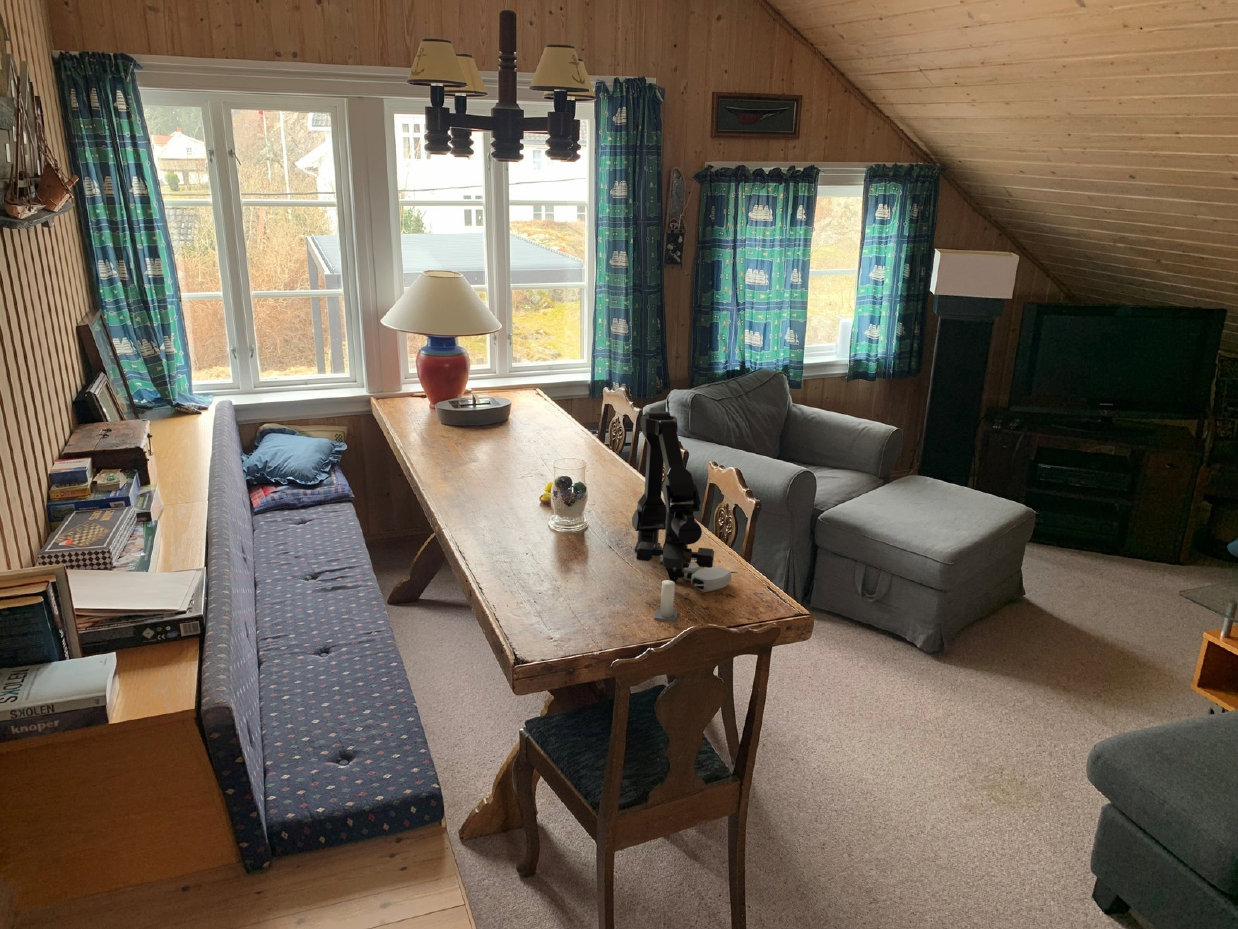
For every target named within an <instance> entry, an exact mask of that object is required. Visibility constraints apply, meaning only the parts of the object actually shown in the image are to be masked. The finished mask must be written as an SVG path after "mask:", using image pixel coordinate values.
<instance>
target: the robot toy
mask: <svg viewBox="0 0 1238 929" xmlns="http://www.w3.org/2000/svg"><path fill="white" fill-rule="evenodd" d="M675 572H676V570H674V577H675ZM738 573H739V571H731V570H729V569H727V568H725V567H721V566H716V565H715V566H712V567H711V568H707V567H699V566H698V565H697V560H694V561H691V563H690V564H689V567H688V568H684V569H683V570H682V572H681V573H680V575H679V578H678V579H681V578H682V579H683V580H685V581H691V585H692V587H693V588H695V589H698V590H700V591H702V592H703V593H708V592H713V591H717V590H720V589H723V588H725V587H727V586H728V585H729V584H731V582H732V574H738ZM666 575H667V576H668V573H667V572H666Z"/></svg>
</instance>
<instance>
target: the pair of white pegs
mask: <svg viewBox="0 0 1238 929" xmlns="http://www.w3.org/2000/svg"><path fill="white" fill-rule="evenodd" d="M674 570H676V568H674ZM675 587H676V585H675V582H673V581H671V580H670V579H664V580H662V581H661V591H660V592H661V594H660V607H657V608H656V611H655V614H654V618H653V619H654V621H661V622H669V623H676V622H677V618H678V615H679V610H678V609H674V602H675V590H676V588H675Z"/></svg>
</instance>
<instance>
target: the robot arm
mask: <svg viewBox="0 0 1238 929" xmlns="http://www.w3.org/2000/svg"><path fill="white" fill-rule="evenodd" d="M640 428H641V433H642V435H643V437H644V439H645V440H646V444H647V445H646V462H645V478H644V493H643V494H642V495H641V497H640V498H639V500H638V501H637V504H636V505H637V508H636V509H635V511H634V513H633V515H632V517H631V525H632V527H633V529H634V531H635V532H637V541H636V545H635V547H634V552H636V555H635V556H636V560H637V561H642V562H643V561H644V562H649V561H651V560H652V559H653V556H655V557H659V564H658V565H660V566H663V567H664V568H665V570H666V574H667V573H668V575H667V576H668V580H671V581H673V582H675V586H676V585H677V583H678V580H679V579H680V578H679V575H680V573H681V572H682V570H683V569H684V568H688V567H689V564H690V563H691V562H692V560H693V561H697V565H698V566H699V567H705V568H706V567H707V568H711V567H712V566H713V565H714V561H715V560H714V558H715V551H714V549H713V548H707V547H698V551H693V548H688V547H689V545H693V544H696V543H697V542H698V541H699V540H700V539H701V537H702V534H703V532H702V531H703V530H702V527H701V525H700V524H699V523H698V521H697V520H696V517H695V516H694V513H695V512H700V506H701V504H702V503H701V498H700V493H699V488H698V487H697V483H696V482H695V481H694V478H693V475H692V473H691V472H690V471H689V470H688V469H687V468H686V466H685V464H684V459H683V458H684V457H683V454H682V450H681V445H680V441H679V436H678V429H679V427H678V417H676V416H675V415H671V413H670V411H646V412H645V413H644V414H643V415H642V416H641V418H640ZM664 467H665V468H664ZM664 469H665V473H666V476H665V479H664V482H663V474H664ZM662 495H663V498H662ZM691 502H693V503H691ZM661 530H662V531H664V532H665V534H664V542H663V545H662V547H661V543H660V542H659V536H660V535H659V534H660V533H659V532H660V531H661ZM674 568H676V572H675V577H674Z"/></svg>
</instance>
